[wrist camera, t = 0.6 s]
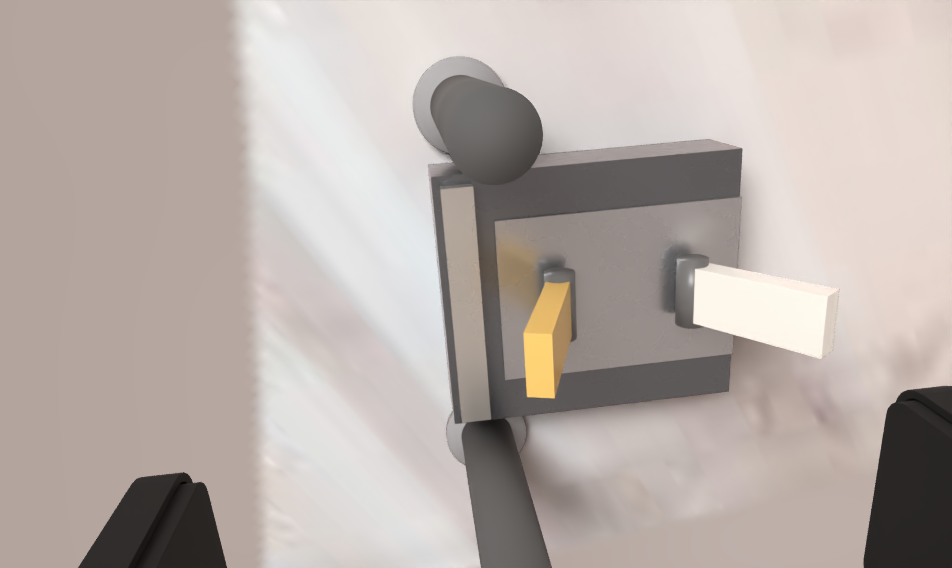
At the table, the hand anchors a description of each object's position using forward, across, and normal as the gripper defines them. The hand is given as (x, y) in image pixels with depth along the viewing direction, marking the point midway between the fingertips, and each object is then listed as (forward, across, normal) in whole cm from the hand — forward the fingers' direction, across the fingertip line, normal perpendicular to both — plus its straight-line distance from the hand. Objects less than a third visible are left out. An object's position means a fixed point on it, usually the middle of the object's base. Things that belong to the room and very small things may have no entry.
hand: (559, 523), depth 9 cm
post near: (+30, -1, -3) cm, 30 cm away
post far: (+30, -1, +17) cm, 34 cm away
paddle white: (+25, -12, +7) cm, 28 cm away
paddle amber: (+25, -5, +7) cm, 26 cm away
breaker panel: (+30, -7, +7) cm, 31 cm away
